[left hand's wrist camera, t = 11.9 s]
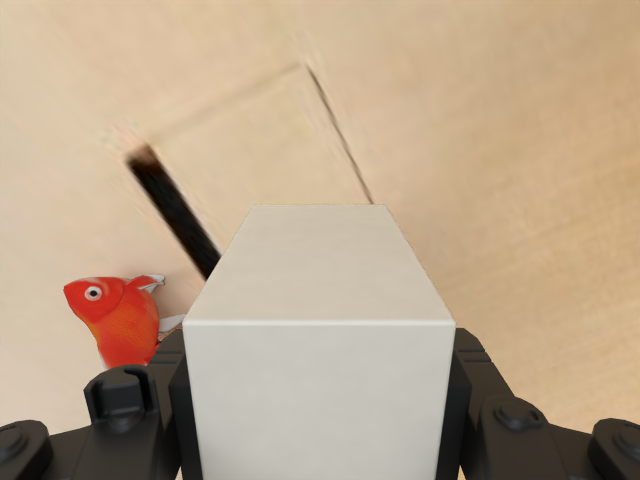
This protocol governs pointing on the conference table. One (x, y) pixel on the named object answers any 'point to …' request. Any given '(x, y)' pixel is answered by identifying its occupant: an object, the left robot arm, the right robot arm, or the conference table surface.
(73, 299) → the fish
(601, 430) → the left robot arm
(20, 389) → the conference table surface
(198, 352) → the brick
